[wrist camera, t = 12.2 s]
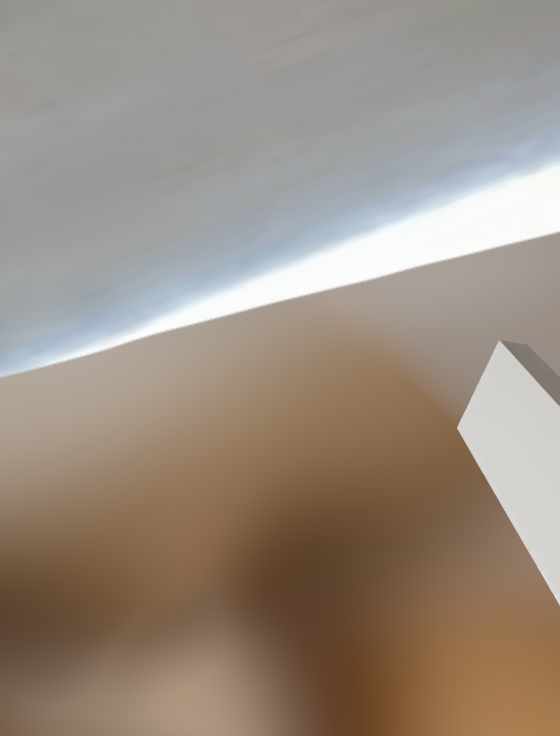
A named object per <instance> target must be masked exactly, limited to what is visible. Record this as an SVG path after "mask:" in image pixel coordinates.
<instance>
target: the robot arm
mask: <svg viewBox="0 0 560 736" xmlns="http://www.w3.org/2000/svg"><path fill="white" fill-rule="evenodd" d="M457 429H458V430H459V432H460V434H461V435H462V437H463V439H464V440H465V442H466V444H467V446H468V448H469V449H470V451H471V452H472V455H473V456H474V458H475V460H476V461H477V463H478V465H479V467H480V468H481V470H482V472H483V474H484V475H485V477H486V479H487V480H488V482H489V484H490V486H491V487H492V489H493V491H494V493H495V494H496V496H497V498H498V499H499V501H500V503H501V505H502V506H503V508H504V510H505V512H506V513H507V515H508V517H509V518H510V520H511V522H512V524H513V525H514V527H515V529H516V530H517V532H518V534H519V536H520V537H521V539H522V541H523V543H524V544H525V546H526V548H527V549H528V551H529V553H530V555H531V556H532V558H533V560H534V561H535V563H536V565H537V567H538V568H539V570H540V572H541V574H542V575H543V577H544V579H545V581H546V582H547V584H548V586H549V587H550V589H551V591H552V593H553V594H554V596H555V598H556V600H557V601H558V603H559V605H560V377H559V376H558V375H557V374H556V373H555V372H554V371H553V370H552V369H551V368H550V367H549V366H548V365H547V364H546V363H545V362H544V361H543V360H542V359H541V358H540V357H539V356H538V355H537V354H536V353H535V352H534V351H533V350H532V349H531V348H530V347H529V346H528V345H525V344H519V343H513V342H507V341H501V340H499V342H498V344H497V346H496V348H495V350H494V353H493V354H492V357H491V359H490V361H489V363H488V365H487V367H486V369H485V371H484V373H483V375H482V377H481V379H480V381H479V384H478V386H477V388H476V390H475V392H474V394H473V396H472V398H471V400H470V402H469V404H468V406H467V409H466V411H465V413H464V415H463V417H462V419H461V421H460V423H459V425H458V427H457Z"/></svg>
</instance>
